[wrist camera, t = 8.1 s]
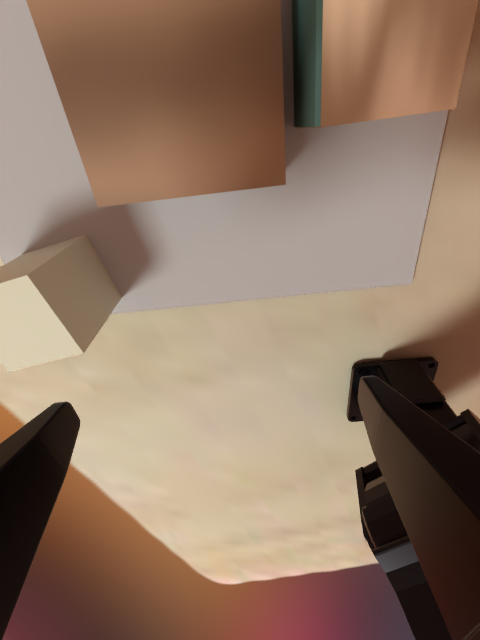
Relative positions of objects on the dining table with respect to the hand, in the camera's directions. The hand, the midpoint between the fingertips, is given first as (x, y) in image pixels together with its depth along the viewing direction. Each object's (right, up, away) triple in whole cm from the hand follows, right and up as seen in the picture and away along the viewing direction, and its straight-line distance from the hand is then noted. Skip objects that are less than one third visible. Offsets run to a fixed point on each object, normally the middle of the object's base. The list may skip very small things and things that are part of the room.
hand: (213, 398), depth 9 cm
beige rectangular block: (-10, +5, +10) cm, 15 cm away
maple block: (+3, +13, +3) cm, 14 cm away
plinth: (-2, +14, +5) cm, 15 cm away
